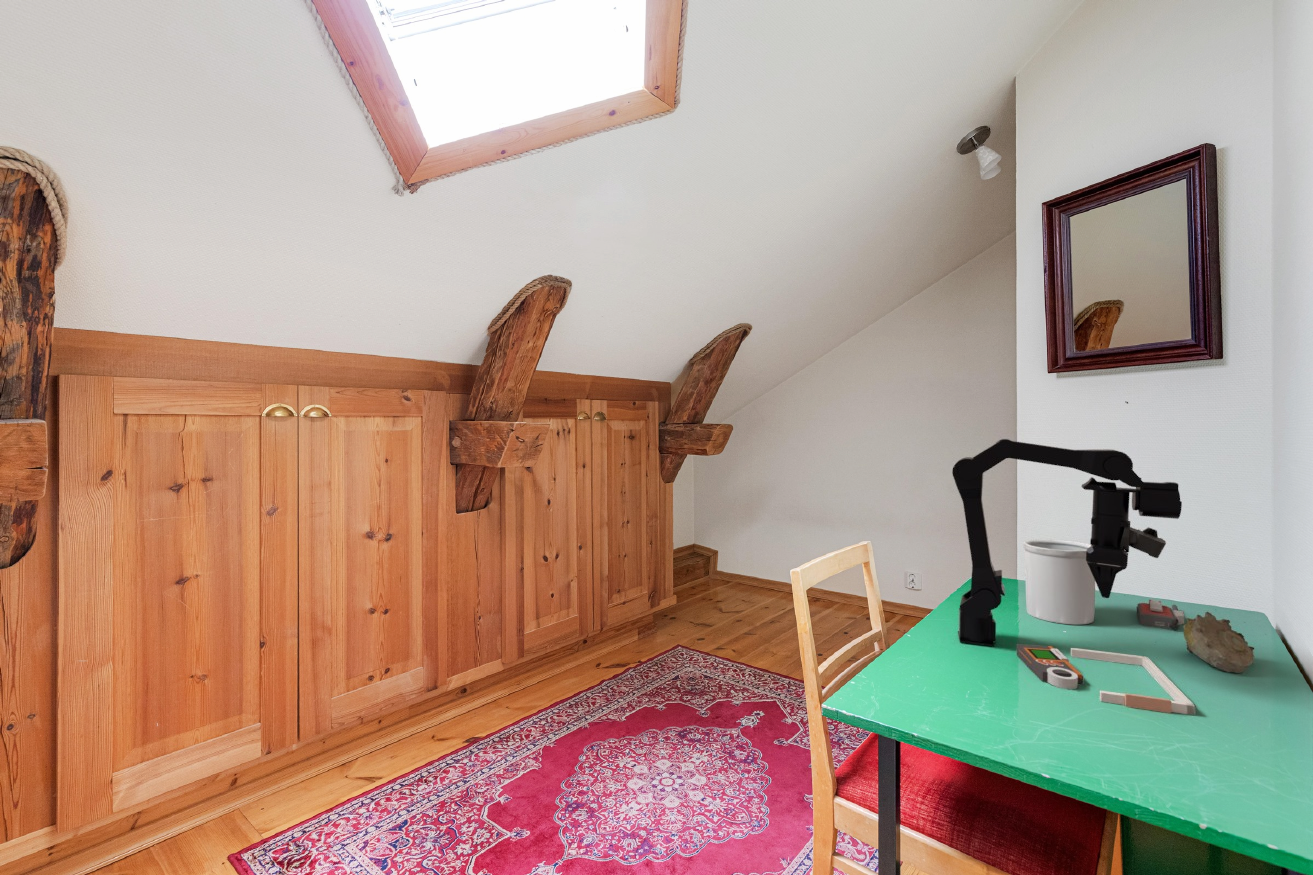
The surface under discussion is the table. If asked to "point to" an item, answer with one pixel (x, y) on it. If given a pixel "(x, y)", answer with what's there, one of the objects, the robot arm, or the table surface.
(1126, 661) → the docking bay
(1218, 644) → the seashell
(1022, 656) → the electronic device
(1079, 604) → the utensil holder
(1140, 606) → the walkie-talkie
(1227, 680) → the table surface
